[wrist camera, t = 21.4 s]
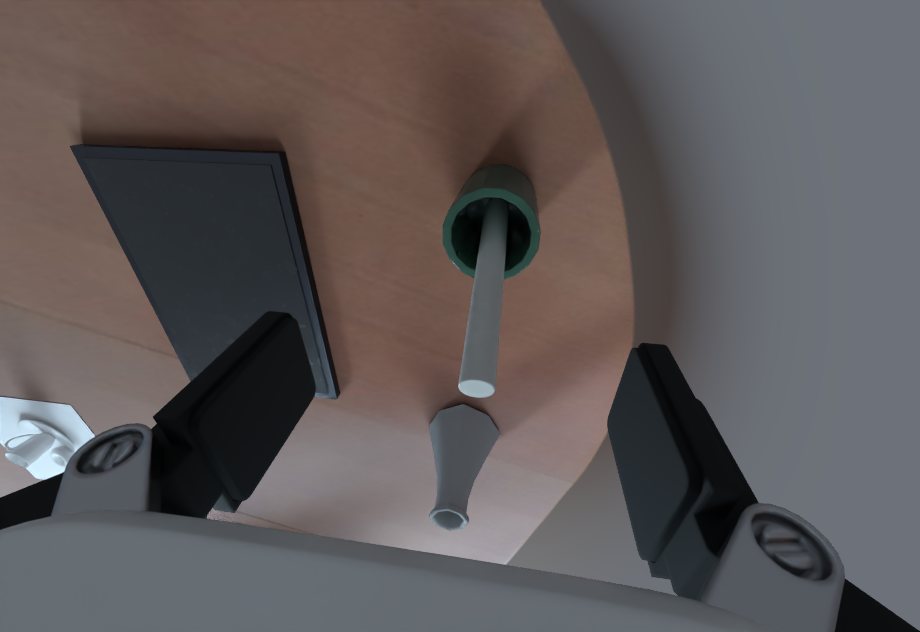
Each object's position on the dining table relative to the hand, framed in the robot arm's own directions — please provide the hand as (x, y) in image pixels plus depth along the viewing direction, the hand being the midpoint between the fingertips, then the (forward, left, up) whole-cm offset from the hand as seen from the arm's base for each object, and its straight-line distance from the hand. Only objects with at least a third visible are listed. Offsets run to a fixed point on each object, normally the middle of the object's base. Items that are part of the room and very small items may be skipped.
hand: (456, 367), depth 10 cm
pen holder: (0, 0, -19) cm, 19 cm away
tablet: (+9, -24, -19) cm, 32 cm away
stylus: (0, 0, -18) cm, 18 cm away
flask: (+24, -2, -19) cm, 31 cm away
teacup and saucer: (+39, -64, -19) cm, 77 cm away
